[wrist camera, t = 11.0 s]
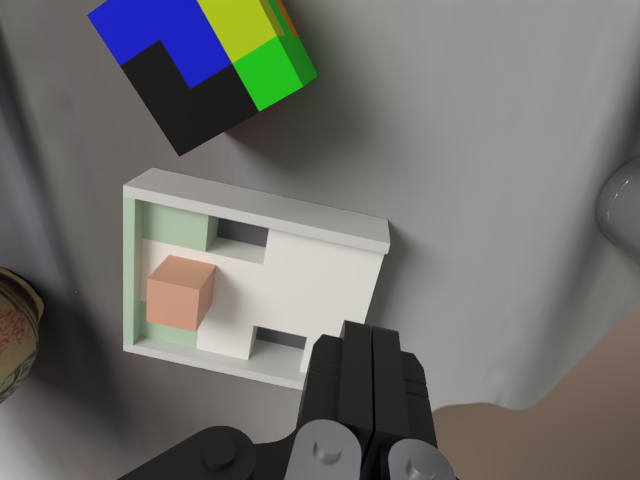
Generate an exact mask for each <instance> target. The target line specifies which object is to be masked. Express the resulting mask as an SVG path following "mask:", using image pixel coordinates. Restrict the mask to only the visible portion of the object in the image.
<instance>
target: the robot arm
mask: <svg viewBox="0 0 640 480" xmlns="http://www.w3.org/2000/svg"><path fill="white" fill-rule="evenodd" d="M596 217H597V223H598V225H599V228H600V230H601V231H602V233H603V234H604V235H605V237H606V238H608V239H609V240H610V241H611V242H612V243H614V244H615V245H616V246H617V247H618V248H620V249H621V250H622V251H623V252H624V253H626V254H627V255H628V256H629V257H630V258H631V259H633V260H634V261H635V262H636V263H637V264H639V265H640V157H638V158H636V159H634V160H632V161H630V162H628V163H627V164H625V165H624V166H623V167H622V168H620V169H619V170H618V171H616V172H615V174H614V175H613V176H612V177H611V178H610V179H609V180H608V181H607V183H606V184H605V186H604V188H603V189H602V191H601V193H600V196H599V199H598V201H597V207H596ZM428 397H429V396H428V391H427V387H426V379H425V374H424V368H423V367H422V365H421V364H420V362H419V361H418V359H417V358H416V356H415V355H414V354H413V353H408V352H404V351H401V349H400V341H399V333H398V331H394V330H389V329H385V328H380V327H376V326H370V325H366V324H362V323H357V322H353V321H348V320H344V322H343V325H342V329H341V332H340V336H339V337H335V336H331V335H326V334H322V335H321V336H320V338H319V339H318V340H317V341H316V342H315V343H314V344H313V348H312V352H311V356H310V360H309V364H308V369H307V373H306V377H305V381H304V385H303V391H302V396H301V402H300V408H299V414H298V419H297V424H296V429H295V430H294V431H293V432H292V433H291V434H290V435H289V436H287V437H286V438H284V439H282V440H279V441H276V442H271V443H261V444H253V443H252V441H251V440H250V438H249V437H248V436H247V435H246V434H245V433H243V432H241V431H240V430H238V429H235V428H232V427H228V426H214V427H209V428H206V429H204V430H202V431H200V432H198V433H196V434H194V435H193V436H191V437H189V438H188V439H186V440H184V441H182V442H181V443H179V444H177V445H176V446H174V447H172V448H170V449H169V450H167V451H165V452H164V453H162V454H160V455H158V456H157V457H155V458H153V459H152V460H150V461H148V462H146V463H145V464H143V465H141V466H140V467H138V468H136V469H134V470H133V471H131V472H129V473H128V474H126V475H124V476H122V477H121V478H119V479H117V480H459V479H458V478H457V477H456V476H455V474H454V471H453V468H452V466H451V464H450V463H449V461H448V460H447V458H446V457H445V456H444V455H443V454H442V453H441V452H440V451H439V450H438V447H437V441H436V436H435V431H434V425H433V419H432V413H431V407H430V402H429V400H428Z"/></svg>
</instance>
